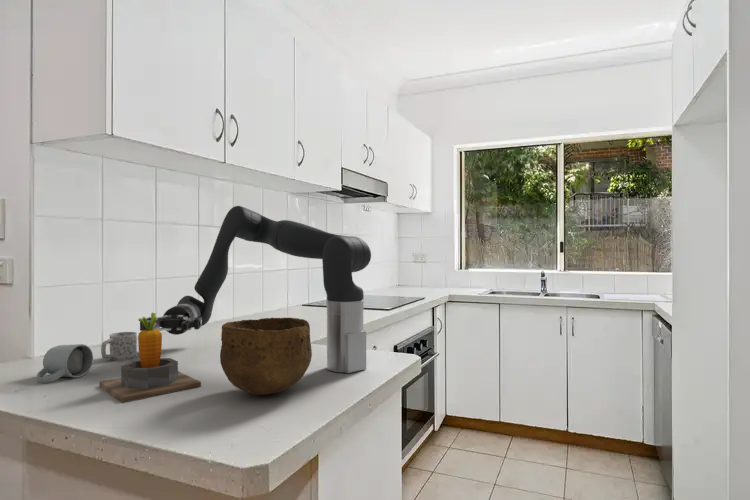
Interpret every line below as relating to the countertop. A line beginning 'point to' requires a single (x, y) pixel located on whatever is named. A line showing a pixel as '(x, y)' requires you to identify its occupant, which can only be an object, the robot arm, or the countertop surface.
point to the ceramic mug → (66, 362)
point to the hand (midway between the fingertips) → (164, 328)
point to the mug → (121, 346)
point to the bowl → (265, 353)
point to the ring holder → (148, 381)
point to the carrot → (149, 344)
